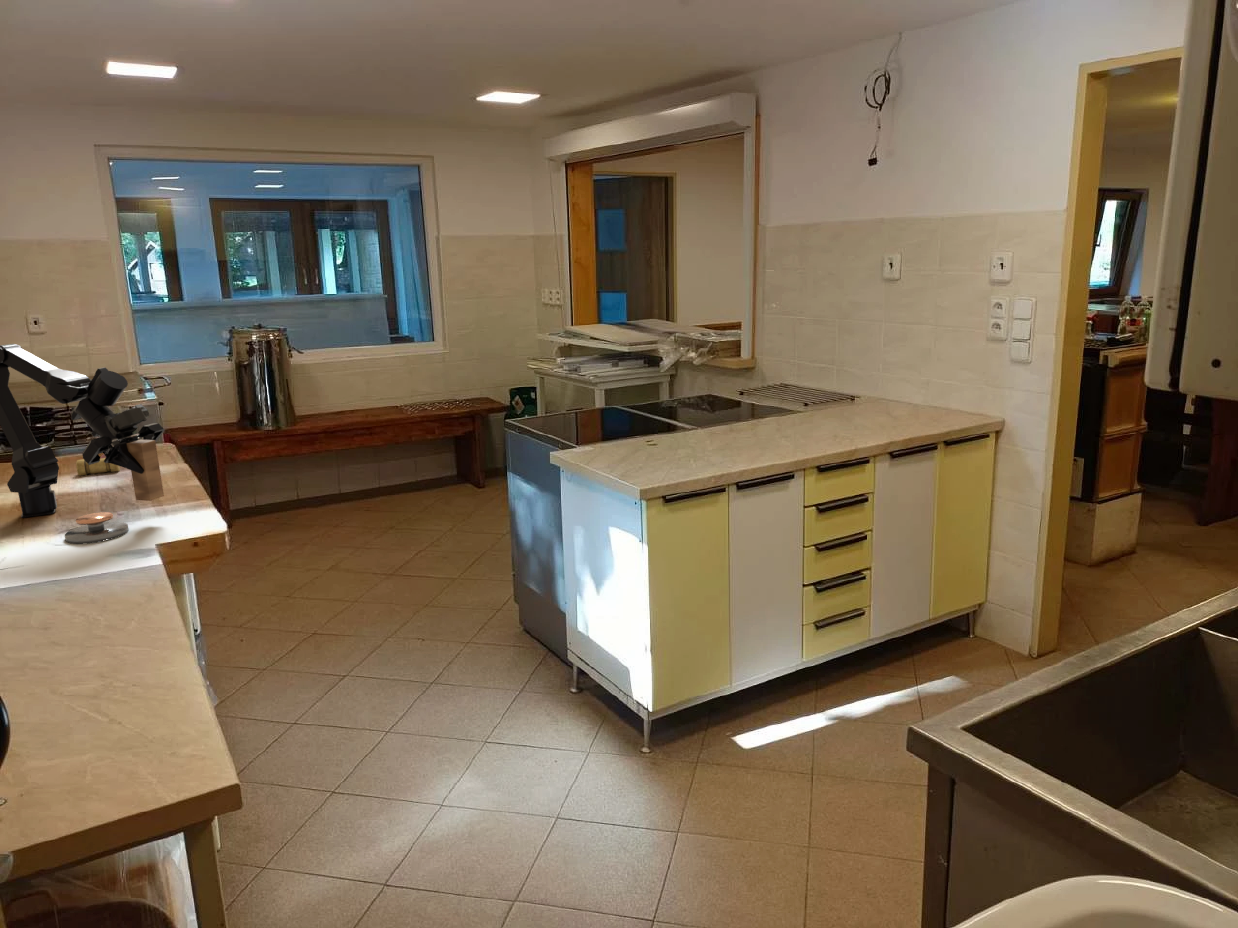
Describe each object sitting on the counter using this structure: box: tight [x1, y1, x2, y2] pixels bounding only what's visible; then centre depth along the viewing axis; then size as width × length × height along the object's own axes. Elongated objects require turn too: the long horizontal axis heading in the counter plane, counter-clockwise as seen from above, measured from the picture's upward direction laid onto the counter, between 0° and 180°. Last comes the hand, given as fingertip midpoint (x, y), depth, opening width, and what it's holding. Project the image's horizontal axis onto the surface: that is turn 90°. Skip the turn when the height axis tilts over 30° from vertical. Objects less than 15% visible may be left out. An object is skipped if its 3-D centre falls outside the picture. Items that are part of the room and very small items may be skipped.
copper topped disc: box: [64, 511, 129, 545], centre depth 192 cm, size 12×12×4 cm
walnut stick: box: [127, 440, 165, 502], centre depth 198 cm, size 4×4×13 cm
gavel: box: [75, 453, 121, 477], centre depth 254 cm, size 21×5×10 cm
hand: (150, 469), depth 198 cm, fingers closed on walnut stick, 4 cm apart
